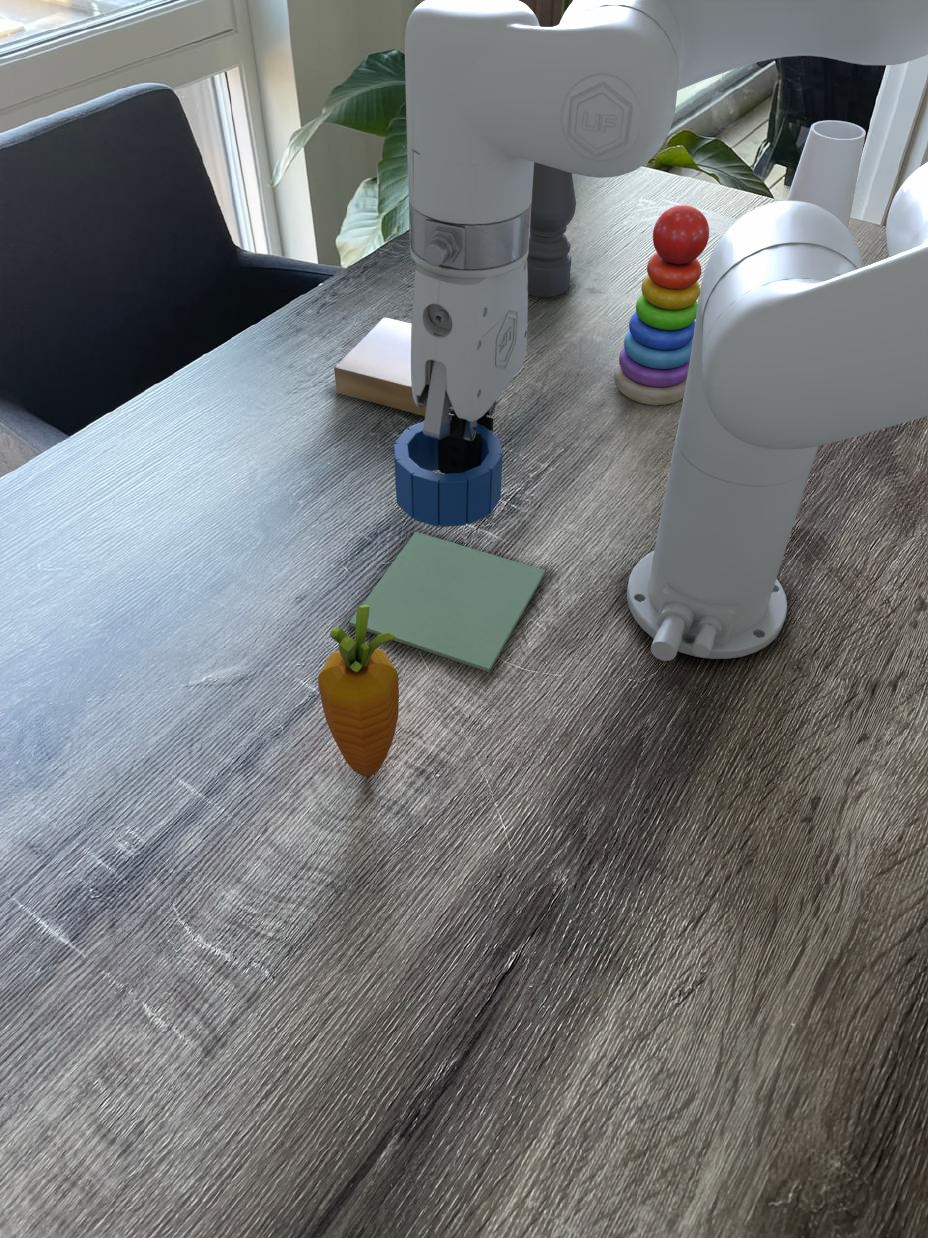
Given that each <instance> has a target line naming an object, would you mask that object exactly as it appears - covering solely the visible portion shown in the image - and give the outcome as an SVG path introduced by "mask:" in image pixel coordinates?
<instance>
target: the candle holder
mask: <svg viewBox="0 0 928 1238" xmlns="http://www.w3.org/2000/svg"><path fill="white" fill-rule="evenodd" d="M574 184H575V183H574V177H573V173H570V172H566V171H563V170H559V169H556V168H553V167H549V166H546V165H542V164H539V163H536V162H534V171H533V187H532V202H531V219H530V234H529V252H528V257H527V271H528V295H531V296H534V297H538V298H539V297H540V298H549V297H557V296H560V295H562V294H564V293H566V292H567V291H568V290H569V287H570V279H571V269H572V259H573V258H572V255H571V254H570V250H571V243H570V241H569V240H568V237H567V236H566V234H565V233H567V228H568V227H567V226H568V225H569V224H570V223H571V222H572V220H573V219H574V216H575V213H576V210H577V209H576V208H577V197H576V191H575V186H574Z"/></svg>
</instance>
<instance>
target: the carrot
mask: <svg viewBox="0 0 928 1238" xmlns="http://www.w3.org/2000/svg"><path fill="white" fill-rule="evenodd" d="M361 605H362V604H361ZM361 605H358V606H357V610H356V612H357V617H356V628H355V637H354V638H352V637H351V636H349V635H348V634H347V633H346V631H344V630H343V629H342V628H341V627H339V626H336V627H333V628H332V629H331V630H330V633H329V637H330V638H332V639H333V640H334V641H335V642H337V643H338V650H337V651H334V652H331V653H330V654H329V655H328V658H326V661H325V663H324V665H323V666H322V669H320V670H321V671H320V672H319V673H318V676H317V677H318V678H317V683H318V684H317V685H318V690H319V697H320V700H321V701H320V702H321V705H322V709H323V713H324V714H323V715H324V718H325V721H326V725H327V726H328V729H329V731H330V734H331V736H332V737H333V741H334V742H335V744H336V747H337V749H338V750H339V751H340V753H341V756H342V757H343V759H344V761H345V762H346V764H347V765H348V766H349V767H350V768H351V770H353V771H354V772H355V773H357V774H358V775H360V776H362V777H365V778H369V777H372V776H374V775H376V774H377V773H378V771H380V769H381V768H382V766H383V764H384V762H385V761H386V758H387V756H388V754H389V752H390V750H391V747H392V744H393V742H394V737H395V734H396V729H397V725H398V721H399V711H400V709H399V707H400V686H399V685H400V683H399V682H400V681H399V673H398V671H397V670H396V668H395V666H394V664H393V663H392V661H391V660H390V659H389V657H388V655H387V653H386V652H385V651H384V649H380V648H379V647H380V646H381V645H383V644H384V643H388V642H390V641H394V640H393V639H395V638H396V637H395V636H394V634H393V633H392V632H387V633H383V634H381V635H376V636H375V637H374V638H373V639H372V640H371V641H370V642H369V643H366V637H367V625H368V618H369V606H368V605H362V606H361ZM354 639H355V640H354Z"/></svg>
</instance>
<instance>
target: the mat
mask: <svg viewBox="0 0 928 1238" xmlns="http://www.w3.org/2000/svg"><path fill="white" fill-rule="evenodd" d="M545 575H546V570H545V569H542V568H539V567H535V566H532V565H530V564H529V565H528V564H526V563H521V562H518V561H515V560H511V559H508V558H505V557H502V556H498V555H495V554H493V553H488V552H485V551H483V550H482V551H481V550H478V549H475V548H471V547H469V546H464V545H461V544H458V543H455V542H451V541H448V540H445V539H442V538H437V537H436V536H431V535H428V534H425V533H422V532H418V531H415V532H414V533H413V535H411V537H410V539H409V540H408V542H407V543H406V544H405V545H404V547H403V548H402V549H401V551H400V552H399V553H398V555H397V557H396V558H395V559H394V561H393V562H392V563H391V564H390V566H389V567H388V568H387V570H386V571H385V572H384V574H383V575H382V576H381V578H380V579H379V581H378V582H377V584H376V585H375V586H374V588H373V589H372V590H371V591H370V593H369V594H368V596H367V597H366V598H365V600H364V601H363V602H362V604H361V605H360V606H362V605H368V606H369V618H368V625H367V632H368V633H371V634H374V635H376V636H378V635H381V634H383V633H387V632H392V633H393V634H394V636H395V637H396V638H395V639H393V640H392V641H395V642H397V643H400V644H404V645H406V646H410V647H412V648H414V649H415V648H416V649H419V650H421V651H424V652H427V653H430V654H432V655H436V656H440V657H442V658H445V659H448V660H451V661H454V662H457V663H460V664H463V665H466V666H469V667H471V668H475V669H478V670H480V671H484V672H487V673H490V672H491V670H492V668H493V667H494V665H495V663H496V661H497V660H498V658H499V657H500V654H501V653H502V651H503V649H504V647H505V645H506V644H507V642H508V640H509V639H510V637H511V635H512V633H513V631H514V630H515V628H516V626H517V625H518V623H519V622H520V619H521V617H522V615H524V612H525V610H526V608H527V606H528V605H529V603H530V602H531V599H533V596H534V594H535V592H536V591H537V589H538V587H539V585H540V584H541V582H542V581H543V579H544V577H545ZM356 617H357V611H356V612H355V614H354V615H353V616H352V618H351V619H350V620H349V622H348V624H349V626H350V627H353V628H355V629H356ZM367 632H366V633H367Z"/></svg>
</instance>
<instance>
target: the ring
mask: <svg viewBox="0 0 928 1238" xmlns="http://www.w3.org/2000/svg"><path fill="white" fill-rule="evenodd" d="M424 421H425V420H423V421H421V422H418V423H416V424H413V425H411V426H409V427H407V428H406V429H405V430H404V431H403V432H402V433H401V434H400V435H399V437H398V438H397V439H396V440H395V442H394V444H393V461H394V463H393V464H394V465H393V466H394V485H395V486H394V487H395V496H396V497H395V498H396V504H397V506H398V507H399V508H400V509H401V510H402V511H403V512H404V513H406V514H407V516H408V517H410V518H411V519H413V520H414V521H417V522H420V523H423V524H426V525H429V526H432V527H437V528H438V527H440V528H446V527H447V528H448V527H464V526H467V525H468V526H469V525H472V524H474V523H476V522H478V521H480V520H482V519H484V518H486V517H489V516H490V515H491V514H492V513H493V511H494V510H495V508H496V507H497V505H498V503H499V502H500V500H501V497H502V479H503V478H502V477H503V456H504V453H503V449H502V444H501V440H500V438H499V437H498V436H497V435H496V434H495V433H494V432H493V433H492V432H491V431H490V430H488V429H487V428H486V427H485V426H483V425H482V426H481V424H478V423H477V432H476V433H478V434H481V435H482V436H481V465H480V466H477V467H475V468H473V469H470V470H468V471H466V472H464V473H453V474H444V473H441V472H440V473H439V472H437V471H439V469H438V439H436V438H432V437H429V436H425V435H424V434H423V428H424Z"/></svg>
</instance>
